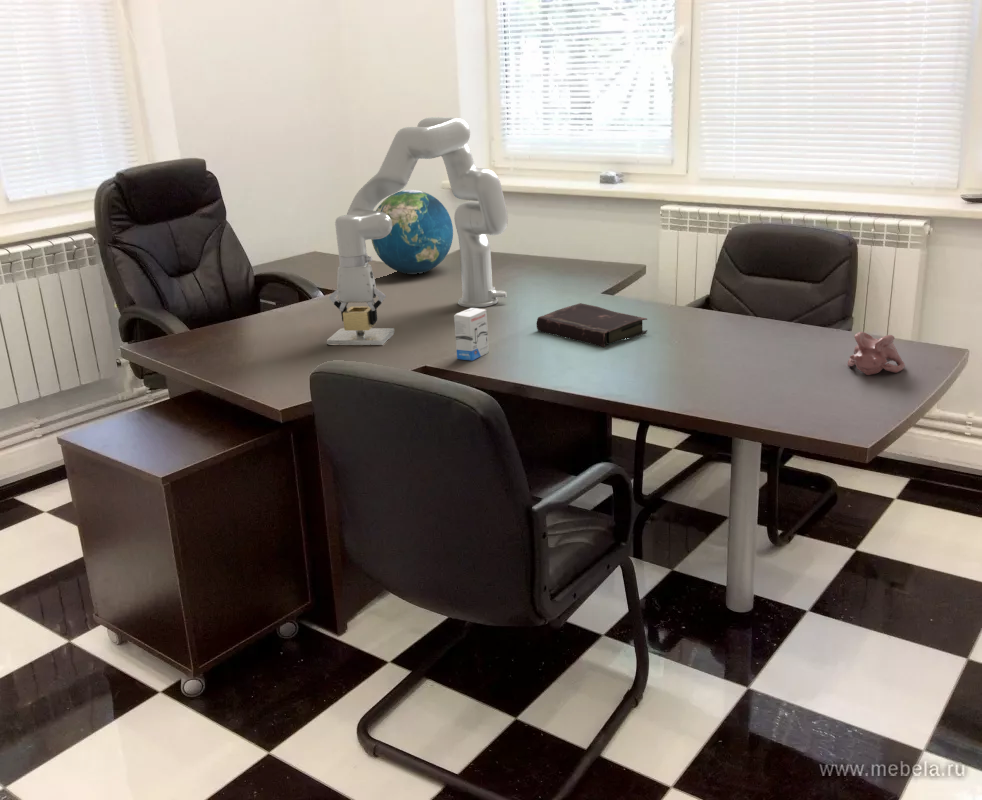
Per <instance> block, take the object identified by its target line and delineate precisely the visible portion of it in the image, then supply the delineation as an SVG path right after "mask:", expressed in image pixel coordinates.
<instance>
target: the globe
mask: <svg viewBox="0 0 982 800" xmlns="http://www.w3.org/2000/svg"><path fill="white" fill-rule="evenodd" d="M375 211H380V212H383V213H386V214H387V215H388V216H389V217H390V218H391V220H392V230H391V232H390V233H389V234H388V235H387V236H386V237H384V238H381V239H370V240H371V244H372V246H373V249H374V251H375V253H376V255H377V257H378V258H379V259H380V260H381V261H382V263H384V264H385V265H386V266H388V267H389V268H390V269H392V270H393V271H394V270H395V271H396V272H399V273H401V274H406V273H407V274H406V275H418V274H417V273H419V274H423V272H424V273H426V272H429V271H431V270H433V269H435V268H436V267H437V266H439V265H440V264H441V263H442V262H443V260H444V259H446V257H447V255H448V253H449V252H450V249H451V247H452V244H453V239H454V228H453V227H454V226H453V222H452V219H451V216H450V214H449V212H448V209H447V208H446V207H445V205H444V204H443V203H442V202H441V201H440V200H439V199H437V198H436V197H435V196H434V195H432V194H430V193H428V192H425V191H423V190H422V191H421V190H418V189H405V190H400V191H398V192H396V193H394V194H391V195H389V196H387V197H386V198H384V199H383V200H382V201H381V202H380V204H379V205H378V207H377V208H376V209H375Z"/></svg>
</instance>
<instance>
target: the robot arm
mask: <svg viewBox="0 0 982 800" xmlns="http://www.w3.org/2000/svg"><path fill="white" fill-rule="evenodd" d="M470 137H471V130H470V126H469V124H468V122H467V121H465V120H464V119H462V118H460V117H439V116H438V117H436V116H435V117H426V118H422V119H421V120H420V121H419V122H418V124H417V126H408V127H407V126H406V127H403V128H400V129H399V130H398V131H397V132H396V134H395V135H394V137H393V140H392V141H391V144H390V145H389V148H388V151H387V153H386V155H385V157H384V159H383V161H382V163H381V166H380V168H379V170H378V171H377V173H375V175H373V176H372V177H371V178H370V179H368V181H367V182H366V183H365V184H364V185H363V186H362V187H361V188H359V190H358V191H357V192H356V194H355V196H354V197H353V199H352V201H351V203H350V205H349V208H348V210H347V212H346V214H345V215H340V216H338V217H336V219H335V222H334V223H335V224H334V225H335V233H336V240H337V252H338V260H339V265H338V266H337V273H336V274H337V275H336V276H337V277H336V278H337V279H336V284H337V285H336V287H337V289H336V290H334V291H333V292H332V293H331V294H330V295H329V297H328V299H329V300H330V302H332V303H333V305H334V306H335V307H336V308H337V309H338V310H339V311H340V316H341V321H342V322H343V323H344V321H343V312H344V311H346V310H347V309H348V305H349V303H350V304H351V303H354V304H355V303H366V304H367V306H369V307H370V309H371V311H370V312H369V314H370V323H371V325H374V324H375V323H376V324H377V321H378V313H377V312H378V311H377V309H378V308H379V307H380V306H381V304H382V303H383V302H384V300H385V299H386V298H387V296H386V294H385V293H384V292H383V291H381V290H380V289H378V288H377V286H376V280H375V276H374V275H375V274H374V272H373V268H372V265H371V264H370V263H369V262H372V261H373V257H372V256H369V255H368V253H367V245H366V244H367V243H366V241H367V240H371V239H381V238H384V237H386V236H387V235H388V234H389V233H390V232H391V230H392V220H391V218H390V217H389V216H388V215H387V214H386V213H383V212H380V211H376V210H374V209H375V208H376V207H377V205H378V204H379V203H381V202H382V201H384V200H385V199H386V198H388V197H389V196H391V195H393V194H395V193H397V192H400V191H402V190H403V189H404V188H405V187H407V185H408V183H409V181H410V178H411V176H412V173H413V172H414V169H415V168H416V165H417V163H418V161H419V159H424V160H427V159H428V160H430V159H436V158H439V157H441V158H442V161H443V163H444V166H445V170H446V174H447V177H448V181H449V185H450V189H451V192H452V194H453V196H454V197H455V198H457V199H459V200H464V202H462V203H460V204H459V205H458V206H457V207H456V209H455V211H454V224H455V229H456V233H457V238H458V244H459V245H458V246H459V259H460V272H461V273H460V274H461V290H462V297H460V298H459V299H457V302H458V303H457V304H458V305H459V306H461V307H464V308H485V307H490V306H494V305H496V304H497V303H499V298H500V299H505V298H507V295H508V294H507V291H504V290H497V289H496V287H495V286H493V274H492V269H493V268H492V256H491V255H492V253H491V244H490V241H489V238H488V236H498V235H502V234H503V233H504V232H505V231H506V229H507V227H508V221H509V215H508V210H507V206H506V205H507V203H506V199H505V197H504V192H503V188H502V187H503V186H502V185H501V181H500V178H499V176H498V174H497V173H496V172H494V171H493V170H492V169H489V168H482V167H480V168H479V167H477V166H476V165H475V161H474V158H473V155H472V153H471V151H472V150H471V148H470V146H469V145H468V143H469V141H470ZM377 297H378V299H377V300H376V301H375V298H377ZM376 324H375V325H376ZM375 325H374V326H375Z"/></svg>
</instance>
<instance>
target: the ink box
mask: <svg viewBox="0 0 982 800" xmlns="http://www.w3.org/2000/svg"><path fill="white" fill-rule="evenodd" d="M453 321H454V333H455V346H456V347H455V348H456V358H457V360H463V361H464V360H465V361H475V360H477V359H479V358H481V357H483V356H485V355H486V354H489V351H490V350H489V334H488V333H489V332H488V331H489V330H488V314H487V309H484V308H479V307H468V308H467V309H464V310H462V311H460V312H457V313H455V314H454V315H453Z"/></svg>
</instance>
